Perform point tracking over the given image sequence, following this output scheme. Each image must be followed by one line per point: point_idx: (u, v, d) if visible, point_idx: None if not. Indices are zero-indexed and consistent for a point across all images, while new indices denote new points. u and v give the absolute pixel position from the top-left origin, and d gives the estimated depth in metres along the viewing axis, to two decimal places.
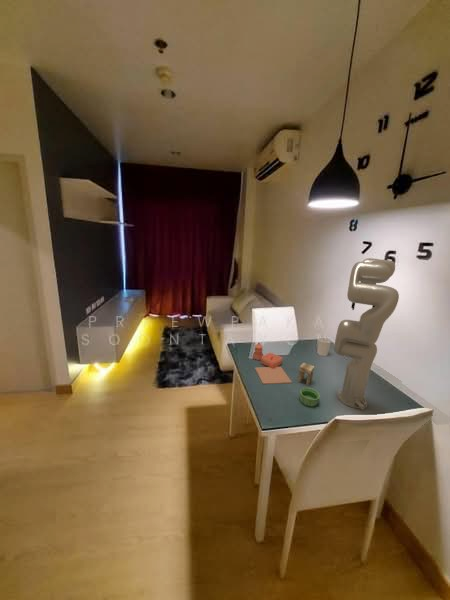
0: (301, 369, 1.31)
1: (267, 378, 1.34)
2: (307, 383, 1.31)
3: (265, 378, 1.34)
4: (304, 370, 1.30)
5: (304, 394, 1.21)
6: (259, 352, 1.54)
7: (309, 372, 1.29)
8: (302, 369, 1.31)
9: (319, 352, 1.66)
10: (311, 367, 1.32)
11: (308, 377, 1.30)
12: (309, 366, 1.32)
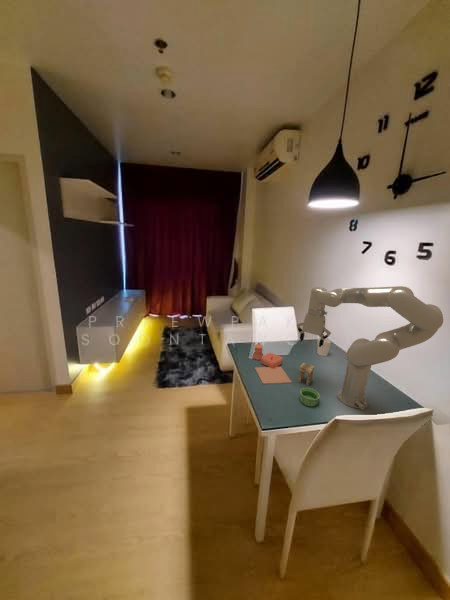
0: (301, 369, 1.31)
1: (267, 378, 1.34)
2: (307, 383, 1.31)
3: (265, 378, 1.34)
4: (304, 370, 1.30)
5: (304, 394, 1.21)
6: (259, 352, 1.54)
7: (309, 372, 1.29)
8: (302, 369, 1.31)
9: (319, 352, 1.66)
10: (311, 367, 1.32)
11: (308, 377, 1.30)
12: (309, 366, 1.32)
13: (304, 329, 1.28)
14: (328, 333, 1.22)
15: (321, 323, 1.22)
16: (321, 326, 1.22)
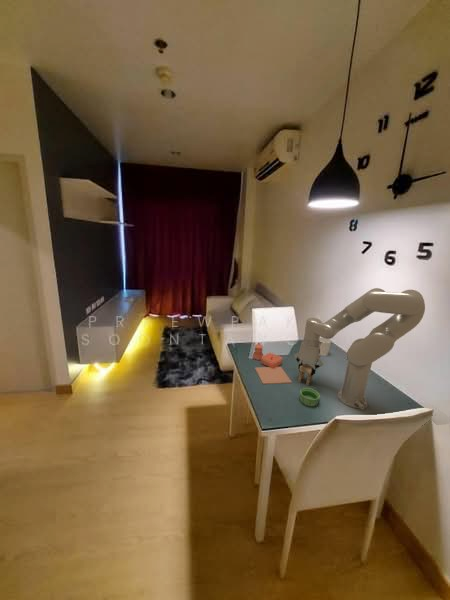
0: (301, 369, 1.31)
1: (267, 378, 1.34)
2: (307, 383, 1.31)
3: (265, 378, 1.34)
4: (304, 370, 1.30)
5: (304, 394, 1.21)
6: (259, 352, 1.54)
7: (309, 372, 1.29)
8: (302, 369, 1.31)
9: None
10: (311, 367, 1.32)
11: (308, 377, 1.30)
12: (309, 366, 1.32)
13: (300, 357, 1.32)
14: (321, 364, 1.27)
15: (316, 353, 1.26)
16: (316, 356, 1.26)
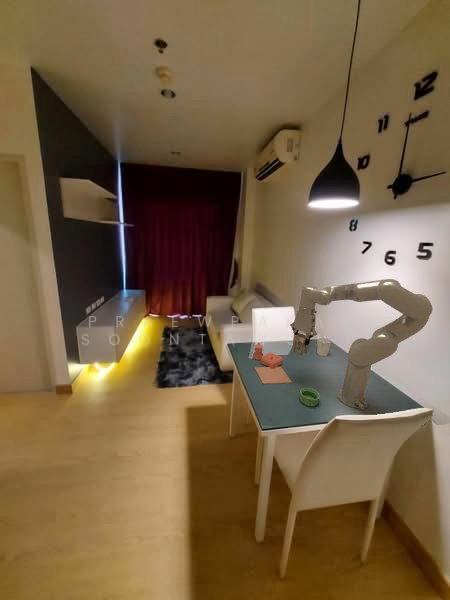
0: (295, 338, 1.29)
1: (267, 378, 1.34)
2: (300, 353, 1.28)
3: (265, 378, 1.34)
4: (297, 339, 1.28)
5: (304, 394, 1.21)
6: (259, 352, 1.54)
7: (302, 341, 1.26)
8: (296, 338, 1.29)
9: (319, 352, 1.66)
10: None
11: (301, 346, 1.27)
12: (304, 336, 1.29)
13: (294, 326, 1.30)
14: (314, 334, 1.23)
15: (309, 321, 1.22)
16: (309, 324, 1.23)
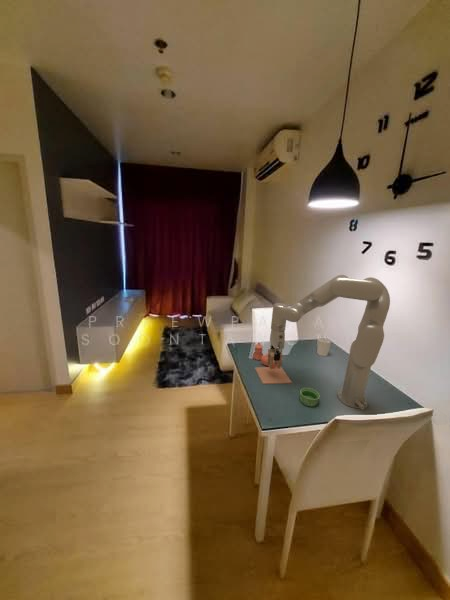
0: (268, 351, 1.36)
1: (267, 378, 1.34)
2: (270, 366, 1.34)
3: (265, 378, 1.34)
4: (269, 353, 1.35)
5: (304, 394, 1.21)
6: (259, 352, 1.54)
7: (271, 355, 1.32)
8: (269, 351, 1.36)
9: (319, 352, 1.66)
10: None
11: (270, 360, 1.33)
12: None
13: (270, 340, 1.37)
14: (279, 350, 1.27)
15: (276, 337, 1.28)
16: (276, 340, 1.28)
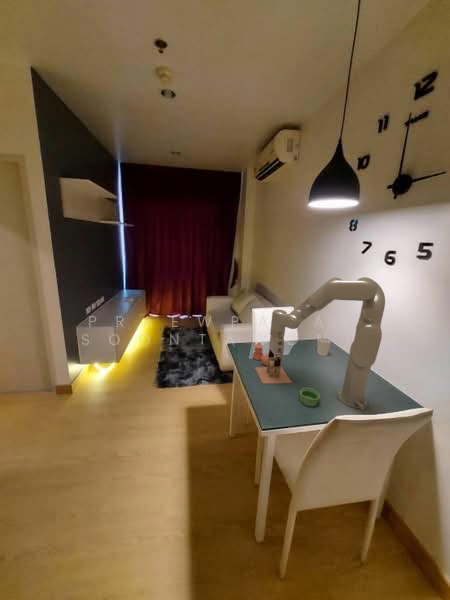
0: (268, 360, 1.38)
1: (267, 378, 1.34)
2: (269, 375, 1.36)
3: (265, 378, 1.34)
4: (269, 361, 1.36)
5: (304, 394, 1.21)
6: (259, 352, 1.54)
7: (270, 364, 1.34)
8: (268, 360, 1.37)
9: (319, 352, 1.66)
10: None
11: (270, 369, 1.35)
12: None
13: (269, 346, 1.38)
14: (279, 355, 1.27)
15: (275, 343, 1.29)
16: (275, 346, 1.29)
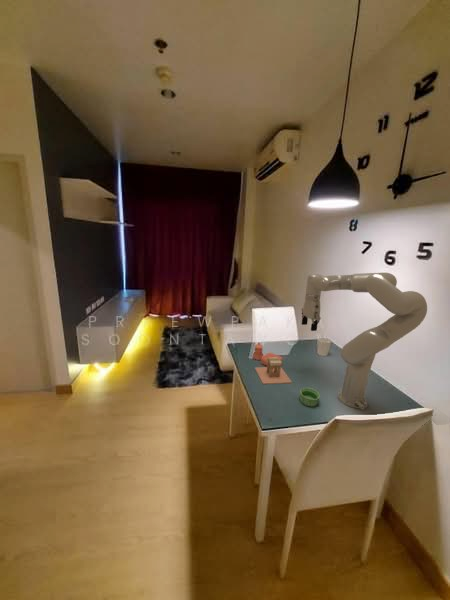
0: (268, 360, 1.38)
1: (267, 378, 1.34)
2: (269, 375, 1.36)
3: (265, 378, 1.34)
4: (269, 361, 1.36)
5: (304, 394, 1.21)
6: (259, 352, 1.54)
7: (270, 364, 1.34)
8: (268, 360, 1.37)
9: (319, 352, 1.66)
10: (277, 361, 1.34)
11: (270, 369, 1.35)
12: (276, 360, 1.35)
13: (303, 313, 1.38)
14: (317, 318, 1.27)
15: (312, 307, 1.30)
16: (312, 310, 1.30)
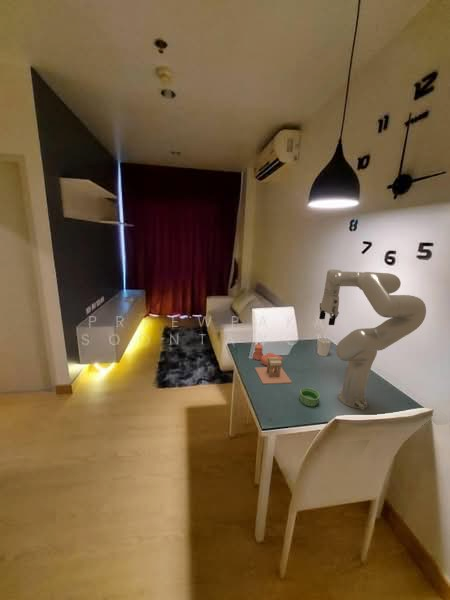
0: (268, 360, 1.38)
1: (267, 378, 1.34)
2: (269, 375, 1.36)
3: (265, 378, 1.34)
4: (269, 361, 1.36)
5: (304, 394, 1.21)
6: (259, 352, 1.54)
7: (270, 364, 1.34)
8: (268, 360, 1.37)
9: (319, 352, 1.66)
10: (277, 361, 1.34)
11: (270, 369, 1.35)
12: (276, 360, 1.35)
13: (321, 307, 1.41)
14: (335, 312, 1.30)
15: (330, 302, 1.32)
16: (330, 305, 1.32)
